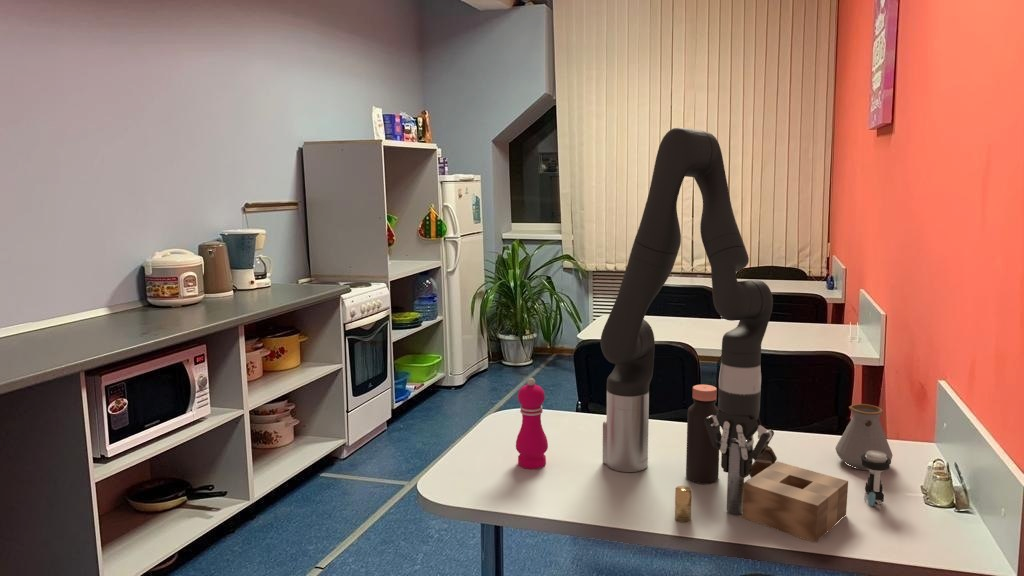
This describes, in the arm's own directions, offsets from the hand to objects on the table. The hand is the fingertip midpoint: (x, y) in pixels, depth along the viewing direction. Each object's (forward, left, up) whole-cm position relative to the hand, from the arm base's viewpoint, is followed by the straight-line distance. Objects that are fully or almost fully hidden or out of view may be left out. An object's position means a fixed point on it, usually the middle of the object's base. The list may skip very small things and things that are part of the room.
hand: (735, 473), depth 143 cm
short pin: (-6, -9, -8) cm, 13 cm away
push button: (+18, +22, -8) cm, 30 cm away
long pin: (0, 0, -8) cm, 8 cm away
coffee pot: (+11, +36, -8) cm, 39 cm away
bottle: (-13, +10, -8) cm, 18 cm away
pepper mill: (-45, -9, -8) cm, 46 cm away
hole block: (+9, +6, -8) cm, 14 cm away
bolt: (-5, +22, -8) cm, 24 cm away
